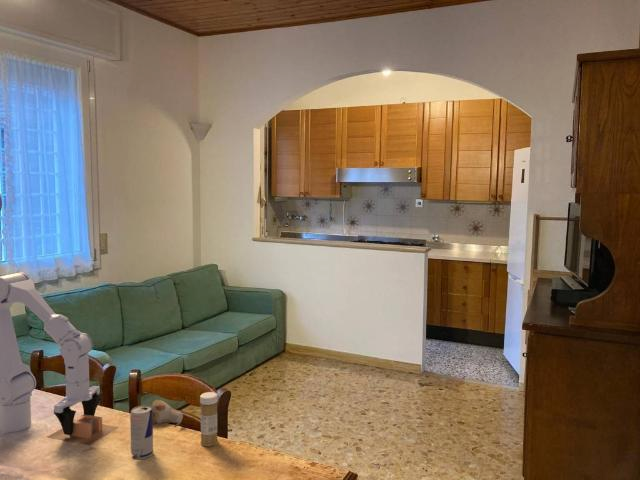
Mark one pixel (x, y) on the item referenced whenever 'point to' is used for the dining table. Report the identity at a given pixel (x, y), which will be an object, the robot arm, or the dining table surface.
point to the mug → (165, 413)
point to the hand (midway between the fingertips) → (78, 428)
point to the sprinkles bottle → (208, 418)
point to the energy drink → (141, 432)
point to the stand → (89, 441)
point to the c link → (86, 426)
